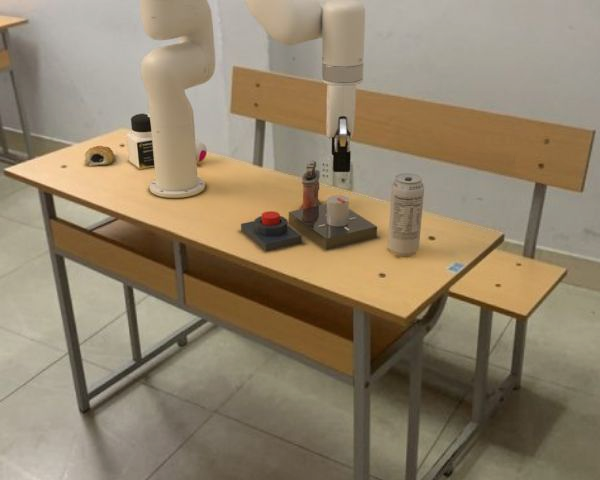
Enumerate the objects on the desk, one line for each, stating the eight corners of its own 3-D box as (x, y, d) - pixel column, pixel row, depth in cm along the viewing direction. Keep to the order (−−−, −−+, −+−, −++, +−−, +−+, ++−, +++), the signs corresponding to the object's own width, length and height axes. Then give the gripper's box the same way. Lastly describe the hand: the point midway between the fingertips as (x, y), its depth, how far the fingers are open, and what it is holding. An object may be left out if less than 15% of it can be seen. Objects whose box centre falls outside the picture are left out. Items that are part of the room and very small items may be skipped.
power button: (258, 221, 155) (258, 213, 154) (274, 218, 156) (274, 209, 156) (266, 227, 152) (266, 219, 151) (283, 224, 154) (283, 216, 153)
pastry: (91, 154, 199) (89, 139, 197) (117, 154, 200) (116, 139, 198) (84, 166, 191) (82, 151, 189) (112, 166, 192) (110, 151, 190)
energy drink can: (419, 246, 153) (426, 173, 145) (417, 259, 147) (423, 184, 140) (389, 242, 154) (394, 171, 146) (385, 256, 149) (390, 182, 141)
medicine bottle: (139, 169, 190) (134, 121, 184) (128, 161, 195) (123, 114, 189) (166, 164, 193) (162, 117, 187) (155, 156, 198) (151, 109, 192)
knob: (322, 220, 157) (322, 196, 154) (340, 216, 159) (341, 192, 156) (333, 228, 154) (334, 203, 151) (352, 224, 155) (353, 199, 153)
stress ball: (184, 180, 193) (189, 163, 187) (170, 155, 195) (175, 138, 189) (211, 173, 196) (216, 156, 191) (197, 149, 199) (202, 132, 193)
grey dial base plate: (288, 223, 162) (288, 211, 161) (337, 212, 167) (337, 200, 166) (325, 250, 151) (326, 237, 149) (376, 237, 156) (377, 225, 155)
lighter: (314, 216, 165) (315, 171, 160) (299, 214, 166) (299, 170, 161) (321, 202, 172) (322, 158, 167) (306, 200, 173) (306, 157, 168)
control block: (241, 231, 158) (240, 215, 156) (275, 223, 162) (275, 208, 160) (265, 251, 150) (265, 235, 148) (301, 243, 153) (301, 227, 152)
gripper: (321, 62, 149) (320, 148, 157) (322, 84, 134) (321, 178, 142) (360, 62, 149) (357, 148, 157) (366, 84, 134) (362, 178, 142)
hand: (340, 162), depth 150 cm, fingers open, 9 cm apart
